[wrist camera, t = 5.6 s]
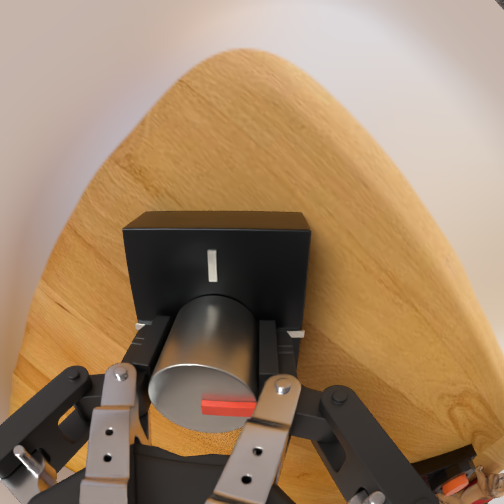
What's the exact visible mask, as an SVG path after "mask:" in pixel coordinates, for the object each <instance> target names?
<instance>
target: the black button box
mask: <svg viewBox="0 0 504 504" xmlns="http://www.w3.org/2000/svg"><path fill="white" fill-rule="evenodd" d="M476 456H477V454H476V452H475V450H474V448H473V446H472V444H471V445H468V446H465V447H463V448H460V449H457V450H455V451H452V452H449V453H446V454H443V455H440V456H437V457H434V458H430V459H427V460H423V461H420V462H416V463H413V464H411V465H412V466H413V468H414V469H415V470H416V471H417V473H418V474H419V475H420V476H421V478H422V479H423V480H424V482H425V483H426V484H427V485H428V487H429V488H430V489H431V490H432V492H433V493H434V494H439V493H442V492H443V490H442V487H443V486H444V485H445V484H447V483H448V482H450V481H451V480H453V479H455V478H457V477H459V476H461V475H463V474H466V476H467V478H469V477H470V476H471V475H472V474H473V473H474V472H475V469H476V468H475V466H474V463H473V461H472V460H473V459H474V458H475V457H476Z"/></svg>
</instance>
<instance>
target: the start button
mask: <svg viewBox="0 0 504 504" xmlns="http://www.w3.org/2000/svg"><path fill="white" fill-rule="evenodd" d="M468 484H469V481H468V479H467V476H466V474H463V475H461V476H459V477H457V478H455V479H453V480H451V481H450V482H448V483H447V484H445V485H444V486H443V487H442V490H443V493H444V496H449V495H452V494H454V493H456V492H458V491H460V490H461V489H463V488H464V487H465V486H467V485H468Z"/></svg>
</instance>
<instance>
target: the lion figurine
mask: <svg viewBox="0 0 504 504" xmlns="http://www.w3.org/2000/svg"><path fill="white" fill-rule="evenodd" d="M483 469H484V467H482V466H481V465H480V466H478V467H477V468H476V469H475V473H476V475H477V478H478V482H477V483H476V484H474V485H472V486H470V487H469V488H467V489H466V490H465V491H464V492H463V493H462V495H461V496H460V497H457V496H456V495H455V494H452V495H449V496H444V495H442V494H441V493H439V494H437V496H438V497H439V498H438V497H437V498H438V500H439V503H440V504H444V503H443V502H442V501H441V500H443V501H445V502H446V503H447V504H471V503H473V502H474V501H476V500H488V499H492V498H498V497H501V496H503V495H504V474H503V473H501V474H494V473H491V474H489V475H487V476H485V474H484V473H483V472H482V470H483Z"/></svg>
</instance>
